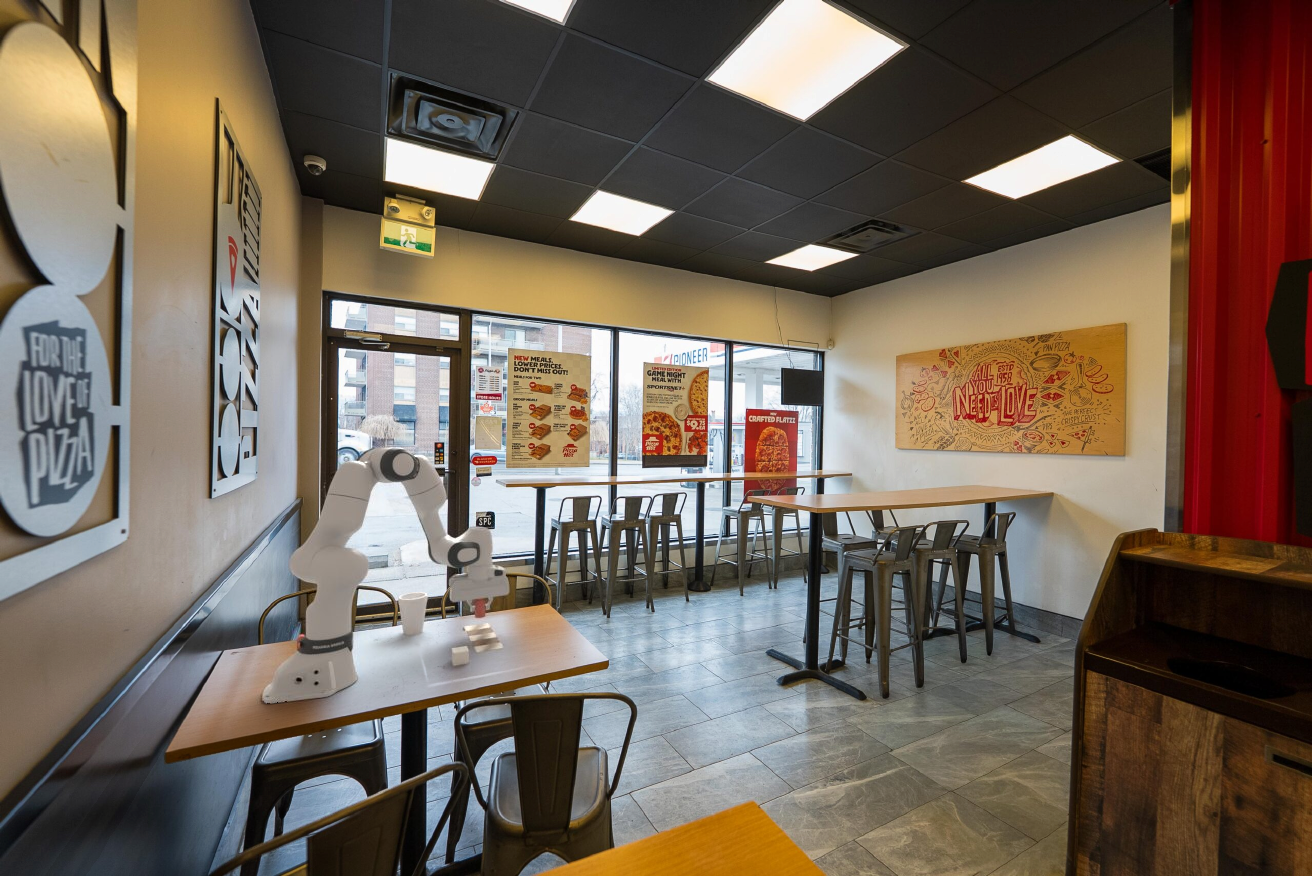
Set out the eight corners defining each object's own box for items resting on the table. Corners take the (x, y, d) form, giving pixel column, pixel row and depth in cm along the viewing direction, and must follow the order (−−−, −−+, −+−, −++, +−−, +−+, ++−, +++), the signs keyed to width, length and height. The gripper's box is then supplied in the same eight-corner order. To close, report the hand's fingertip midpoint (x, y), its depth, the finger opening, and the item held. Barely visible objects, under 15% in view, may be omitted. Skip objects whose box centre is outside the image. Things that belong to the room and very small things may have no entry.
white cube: (453, 668, 166) (453, 653, 166) (451, 662, 170) (451, 648, 170) (468, 665, 168) (468, 650, 168) (466, 659, 172) (466, 645, 172)
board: (476, 654, 176) (476, 652, 176) (463, 628, 201) (463, 626, 201) (504, 649, 181) (504, 647, 181) (488, 624, 205) (488, 622, 205)
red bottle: (475, 618, 193) (475, 594, 193) (474, 615, 197) (473, 591, 197) (486, 616, 195) (486, 592, 195) (484, 613, 198) (484, 590, 198)
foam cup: (418, 625, 204) (418, 590, 204) (432, 630, 198) (432, 594, 198) (393, 633, 196) (393, 596, 196) (407, 638, 190) (407, 601, 190)
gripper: (450, 577, 188) (450, 617, 188) (510, 570, 198) (510, 608, 198) (447, 573, 194) (448, 612, 194) (506, 566, 203) (506, 603, 203)
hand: (480, 610), depth 196 cm, fingers closed on red bottle, 4 cm apart
